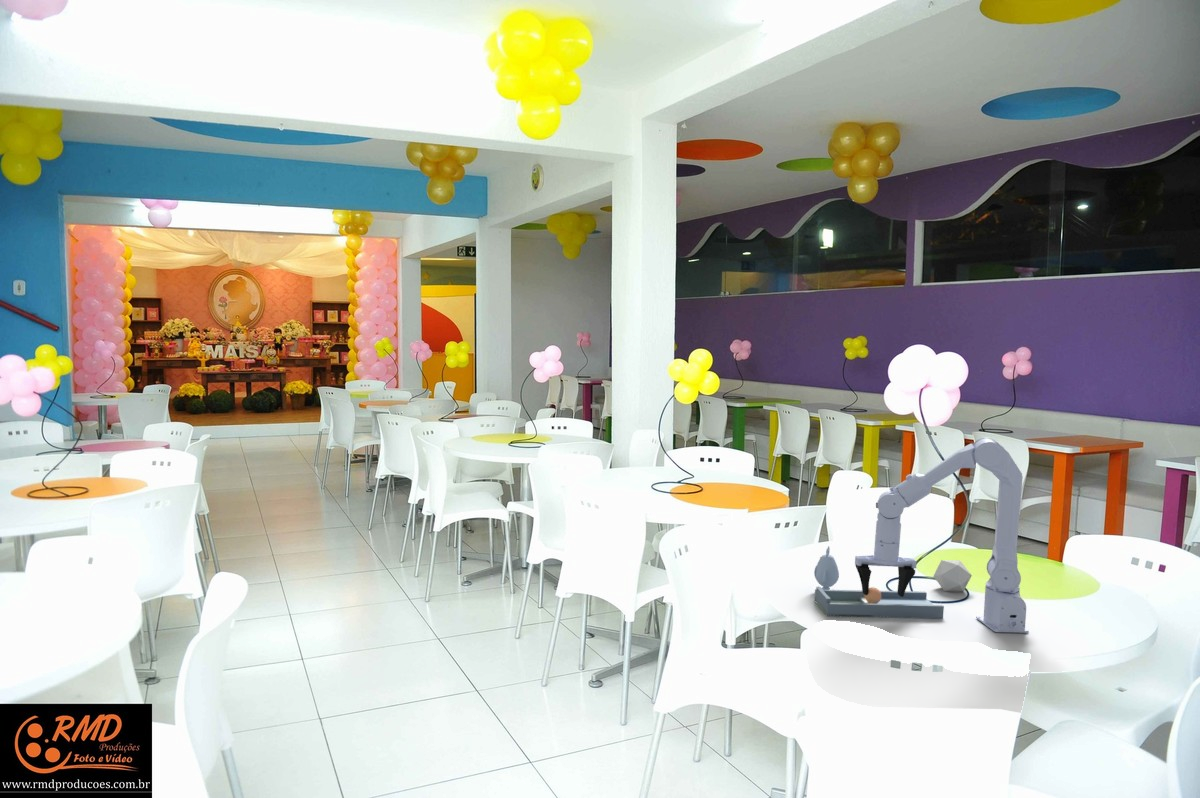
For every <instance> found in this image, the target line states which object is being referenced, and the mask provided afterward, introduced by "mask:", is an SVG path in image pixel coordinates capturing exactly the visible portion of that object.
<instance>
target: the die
mask: <svg viewBox="0 0 1200 798" xmlns="http://www.w3.org/2000/svg"><path fill="white" fill-rule="evenodd" d="M972 577H973V576H972V574H971V572H970V571H969V569H968V568H967V567H966V565H964V563H963V562H962V561H961V560H957V559H956V560H955V559H952V560H951V559H950V560H949V559H941V560H940V562H939V565H937V568H936V570H935V572H934V574H933V578H934V579H935V581H936V582H937V583H938V585H939V586H940V588H942V590H943V591H944V592H954V591H965V589H966V588H967V586H968V584H969V582H970V580H971V578H972Z"/></svg>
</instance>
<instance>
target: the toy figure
mask: <svg viewBox="0 0 1200 798" xmlns="http://www.w3.org/2000/svg"><path fill="white" fill-rule="evenodd" d="M830 548H831V547H830V546H829V545H828V546H827V548H826V551H825V554H823V555H821V556H820V557H819V560H818V562H817V564H816V566H815V567H814V573H813V574H814V578H815V579H816V581H817V583H818V584H819V586H820V587H821V586H822V587H821V588H822V589H823V590H831V589H830V588H831V587H833V586H834V585H835V584H836V583H837V582H838V581H839V577H840V573H839V567H838V564H837V562H836V559H835V557H834V556H833V555H831V554H830Z"/></svg>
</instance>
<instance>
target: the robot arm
mask: <svg viewBox="0 0 1200 798" xmlns="http://www.w3.org/2000/svg"><path fill="white" fill-rule="evenodd" d="M976 464H978V466H979V467H981V468H982V469H984V470H987V471H989V472H990V473H992V475H994V477H995V478H997V479H998V480H999V481H998V493H997V494H998V495H997V506H996V518H995V533H994V542H993V543H994V544H993V547H992V551H991V552H992V553H991V556H990V558H989V559H988V561H987V563H986V570H987V571H986V572H987V574H988V575H989V577H990V578H989V579H988V580H987V581H986V582H985V587H984V589H985V591H984V601H983V602H984V605H983V615H976V616H975V618H976V619H977V620H978V621H980V623H982V624H984V625H985V626H986V627H987V628H989V629H990V630H992V631H993V632H995V633H1022V634H1023V633H1024V634H1028V633H1029V632H1030V631H1029V629H1027V628H1026V619H1027V603H1026V602H1025V601H1024V600H1025V599H1023V598H1022V596H1021V594H1020V593H1021V590H1020V589H1021V587H1020V585H1021V581H1022V576H1021V573H1020V572H1019V569H1018V562H1019V561H1018V551H1017V549H1018V548H1017V547H1018V537H1019V526H1020V525H1019V524H1020V516H1021V515H1020V512H1021V511H1020V510H1021V503H1022V502H1021V500H1022V487H1023V479H1024V478H1023V477H1024V476H1023V473H1022V471H1021V470H1020V468H1019V466H1018V465H1017V463H1016V462H1015V461H1014V459H1013V457H1012V456H1011V454H1010V452H1009V451H1008V450H1007V449H1005V447H1004V446H1003V445H1001V444H1000V443H999V442H997V441H996V440H994V439H993V438H991V437H981V438H978V439H976V440H975V441H974V442H973V443H969V444H967V445H965V446H964V447H962V448H960V449H958V450H957V451H955V452H954V453H953V454H951V455H949V456H948V457H947V458H945V459H943V461H941V462H940V463H938V464H937V465H935V466H934V467H933V468H931V469H929V470H928V471H927V472H925V473H924V474H923V473H914V474H911V473H909V474H907V475H906V476H905V480H903V481H902V482H900V483H899V484H897V485H896V486H891V487H889V491H885V492H883V493H881V494H880V495H879V498H878V500H877V511H878V513H877V517H876V518H877V519H876V522H875V523H876V524H875V525H876V526H875V537H874V549H873V550H874V551H873V555H872V554H871V555H854V556H855V557H854V564H855V565H854V566H855V567H856V570H857V573H858V576H859V579H860V583H861V590H862V592H863V594H864V595H868V592H869V588H870V580H871V574H872V570H871V568H870V566H872V567H873V566H874V567H876V566H877V567H892V568H893V567H897V569H898V571H897V572H898V582H897V583H898V584H897V591H898V595H899V596H900V597H903V596H904V593H905V591H907V587H908V585H909V584H910V582H911V580H912V578H913V577H914V576H915V575H916V569H917V564H918V563H917V559H915V558H910V557H902V556H899V555H900V543H901V531H902V530H901V529H902V524H901V518H902V517H901V516H902V515H903V512H904V509H905V508H910V507H911V506H913V505H914V504H917V503H918V502H919V501H920V500H922V499H924V498H925V497H927V496H928V495H930V494H931V493H932V489H933V486H934V485H936V484H937V483H939V482H940V481H942V480H944V479H945V478H948V477H949V476H951V475H953V474H955V473H956V472H958V471H959V470H962V469H976V468H977V467H976Z"/></svg>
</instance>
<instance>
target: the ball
mask: <svg viewBox="0 0 1200 798" xmlns="http://www.w3.org/2000/svg"><path fill="white" fill-rule="evenodd" d="M880 591H881V590H880V589H878V588H877V587H874V586H872V587H869V592H868V595H864V596H865V599H866V601H867V602H869V603H871V604H876V603H878V602H879V601H880V600H881V592H880Z"/></svg>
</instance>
